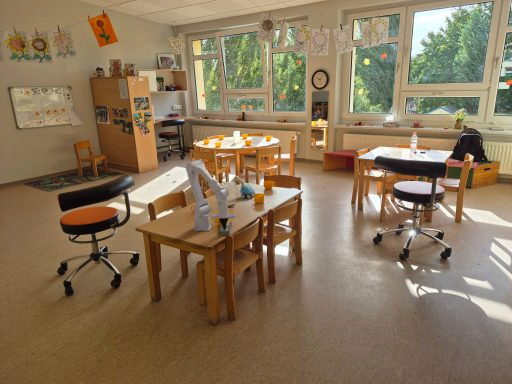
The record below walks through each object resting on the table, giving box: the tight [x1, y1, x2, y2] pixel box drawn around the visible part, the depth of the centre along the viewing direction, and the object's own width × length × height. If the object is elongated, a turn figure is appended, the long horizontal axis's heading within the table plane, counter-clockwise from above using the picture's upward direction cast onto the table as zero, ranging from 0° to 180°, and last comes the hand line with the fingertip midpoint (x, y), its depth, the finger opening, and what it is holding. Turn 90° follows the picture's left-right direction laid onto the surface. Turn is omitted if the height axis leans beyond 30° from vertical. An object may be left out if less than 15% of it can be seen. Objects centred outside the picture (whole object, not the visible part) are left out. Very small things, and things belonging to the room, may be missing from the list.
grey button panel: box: [219, 221, 233, 236], centre depth 217 cm, size 6×15×2 cm, turn 178°
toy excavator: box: [233, 175, 256, 200], centre depth 278 cm, size 9×17×17 cm, turn 64°
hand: (224, 229), depth 212 cm, fingers closed, pressing on green key
